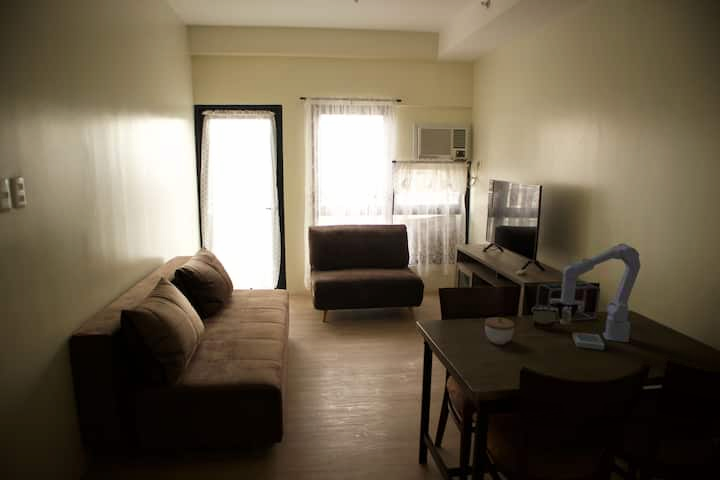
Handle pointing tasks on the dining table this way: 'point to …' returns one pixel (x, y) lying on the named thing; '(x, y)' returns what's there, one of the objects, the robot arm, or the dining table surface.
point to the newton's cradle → (580, 308)
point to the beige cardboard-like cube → (566, 317)
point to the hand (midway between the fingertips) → (565, 319)
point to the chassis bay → (588, 341)
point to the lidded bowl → (499, 330)
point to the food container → (544, 316)
